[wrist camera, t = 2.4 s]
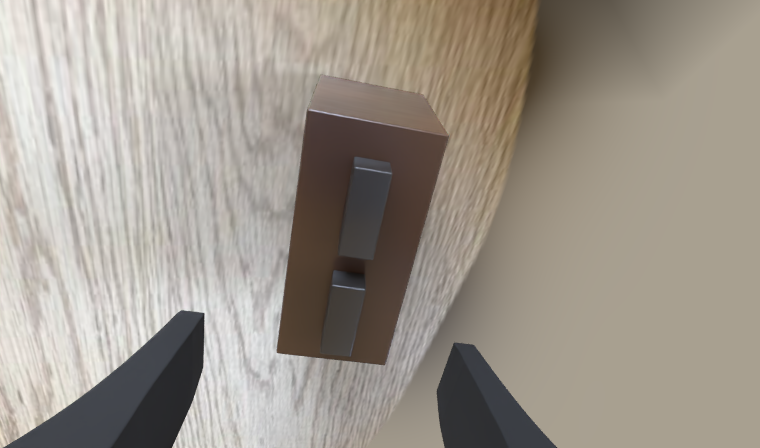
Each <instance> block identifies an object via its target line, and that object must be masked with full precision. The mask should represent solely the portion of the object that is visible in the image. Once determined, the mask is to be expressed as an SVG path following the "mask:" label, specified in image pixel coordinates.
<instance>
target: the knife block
mask: <svg viewBox="0 0 760 448" xmlns="http://www.w3.org/2000/svg"><path fill="white" fill-rule="evenodd" d="M448 138H449V135H448V134H447V132H446V130H445V129H444V127H443V126H442V124H441V122H440V121H439V119H438V118H437V116H436V114H435V113H434V111H433V109H432V108H431V106H430V105H429V103H428V101H427V100H426V98H425V97H424V95H422V94H417V93H412V92H407V91H402V90H397V89H392V88H387V87H382V86H377V85H372V84H367V83H361V82H356V81H351V80H346V79H341V78H336V77H331V76H326V75H320V78H319V80H318V83H317V85H316V88H315V91H314V93H313V96H312V99H311V101H310V104H309V106H308V109H307V114H306V122H305V130H304V138H303V146H302V153H301V161H300V169H299V177H298V185H297V193H296V201H295V209H294V217H293V225H292V233H291V241H290V249H289V256H288V264H287V272H286V280H285V288H284V296H283V304H282V312H281V320H280V328H279V336H278V344H277V353H280V354H289V355H298V356H307V357H316V358H325V359H334V360H343V361H352V362H361V363H370V364H378V365H385V364H386V360H387V357H388V353H389V350H390V346H391V342H392V339H393V335H394V332H395V328H396V325H397V321H398V317H399V314H400V310H401V307H402V303H403V299H404V296H405V292H406V289H407V285H408V281H409V278H410V274H411V271H412V267H413V263H414V260H415V256H416V253H417V249H418V245H419V242H420V238H421V235H422V231H423V228H424V224H425V220H426V217H427V213H428V210H429V206H430V202H431V199H432V195H433V192H434V188H435V184H436V181H437V177H438V174H439V170H440V166H441V163H442V159H443V156H444V152H445V148H446V145H447V141H448Z"/></svg>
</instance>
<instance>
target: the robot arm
mask: <svg viewBox="0 0 760 448" xmlns="http://www.w3.org/2000/svg"><path fill="white" fill-rule="evenodd" d="M203 355H204V313H199V312H191V311H183V310H181V311H180V312H178V313H177V314H176V315H175V316H174V317H173V318H172V319H171V320H170V321H169V322H168V323H167V324H166V325H165V326H164V327H163V328H162V329H161V330H160V331H159V332H158V333H157V334H156V335H154V336H153V337H152V338H151V339H150V340H149V341H148V342H147V343H146V344H145V345H144V346H143V347H141V348H140V349H139V350H138V351H137V352H136V353H135V354H133V355H132V356H131V357H130V358H129V359H128V360H127V361H126V362H124V363H123V364H122V365H121V366H120V367H119V368H117V369H116V370H115V371H114V372H112V373H111V374H110V375H109V376H107V377H106V378H105V379H104V380H102V381H101V382H100V383H99V384H97V385H96V386H95V387H94V388H92V389H91V390H90V391H88V392H87V393H86V394H84V395H83V396H82V397H80V398H79V399H78V400H76V401H75V402H73V403H72V404H71V405H69V406H68V407H66V408H65V409H63V410H62V411H60V412H59V413H58V414H56V415H55V416H53V417H52V418H50V419H49V420H47V421H45V422H44V423H42V424H41V425H39V426H38V427H36V428H35V429H33V430H31V431H30V432H28V433H27V434H25V435H24V436H22V437H20V438H19V439H17V440H15V441H14V442H12V443H10V444H9V445H7V446H5V447H4V448H172V446H173V444H174V442H175V440H176V437H177V435H178V433H179V431H180V428H181V426H182V424H183V422H184V419H185V417H186V415H187V413H188V410H189V408H190V406H191V404H192V401H193V398H194V395H195V392H196V389H197V386H198V382H199V379H200V376H201V373H202V369H203ZM437 400H438V412H439V421H440V428H441V432H442V437H443V442H444V446H445V448H557V447H556V446H555V445H554V444H553V443H552V442H551V441H550V440H549V439H548V438H547V436H546V435H545V434H544V433H543V432H542V431H541V430H540V429H539V428H538V426H537V425H536V424H535V423H534V422H533V421H532V420H531V418H530V417H529V416H528V415H527V414H526V412H525V411H524V410H523V409H522V408H521V406H520V405H519V404H518V403H517V401H516V400H515V399H514V398H513V396H512V395H511V394H510V393H509V391H508V390H507V389H506V387H505V386H504V385H503V384H502V382H501V381H500V380H499V378H498V377H497V376H496V374H495V373H494V372H493V370H492V369H491V367H490V366H489V365H488V363H487V362H486V361H485V359H484V358H483V357H482V355H481V354H480V353H479V351H478V350H477V349H476V347H475V346H474V345H470V344H462V343H454V344H453V347H452V350H451V353H450V356H449V358H448V361H447V364H446V367H445V369H444V372H443V375H442V378H441V381H440V383H439V386H438V389H437Z"/></svg>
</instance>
